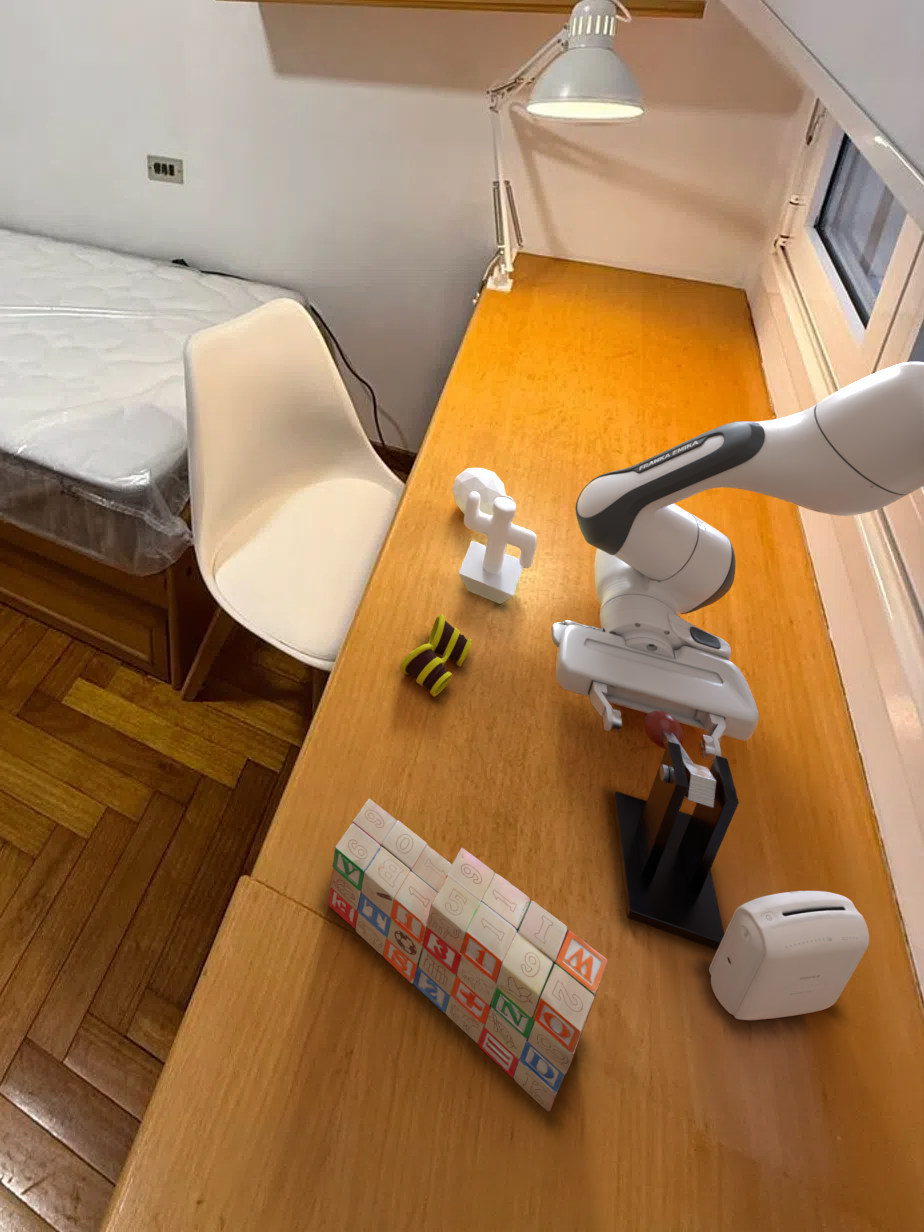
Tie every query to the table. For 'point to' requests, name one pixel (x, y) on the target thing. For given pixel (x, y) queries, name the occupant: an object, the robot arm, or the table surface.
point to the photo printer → (788, 954)
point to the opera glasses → (427, 664)
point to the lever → (699, 778)
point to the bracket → (674, 851)
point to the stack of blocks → (470, 947)
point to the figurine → (495, 550)
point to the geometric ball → (478, 488)
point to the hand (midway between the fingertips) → (661, 742)
